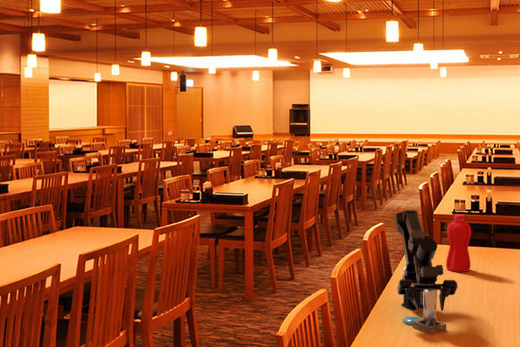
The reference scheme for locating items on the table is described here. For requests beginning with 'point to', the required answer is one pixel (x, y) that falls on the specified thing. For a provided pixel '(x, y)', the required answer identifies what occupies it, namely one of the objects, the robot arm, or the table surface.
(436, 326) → the open brown square box
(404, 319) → the shiny teal dome
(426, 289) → the peg
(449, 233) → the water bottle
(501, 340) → the table surface
